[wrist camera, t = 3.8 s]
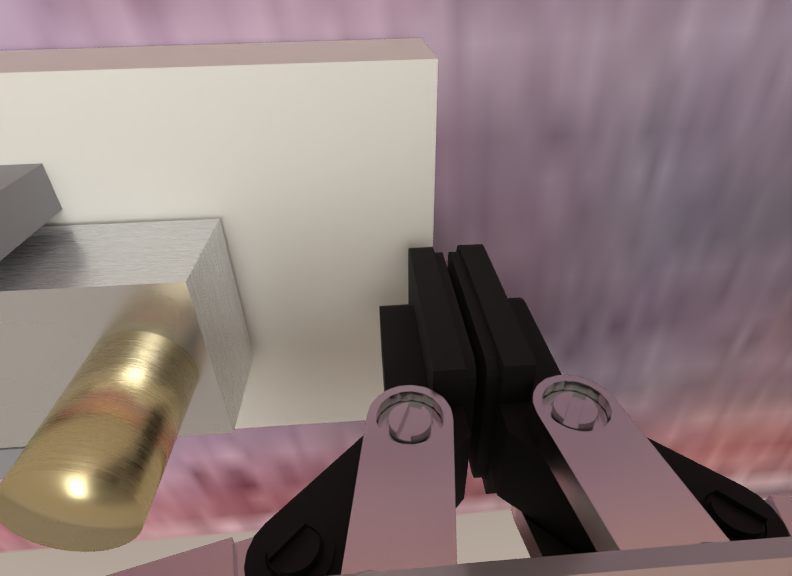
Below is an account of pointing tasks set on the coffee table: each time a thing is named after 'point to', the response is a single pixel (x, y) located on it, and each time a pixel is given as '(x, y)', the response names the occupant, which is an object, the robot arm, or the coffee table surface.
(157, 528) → the coffee table surface
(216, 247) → the bolt
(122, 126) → the door board
